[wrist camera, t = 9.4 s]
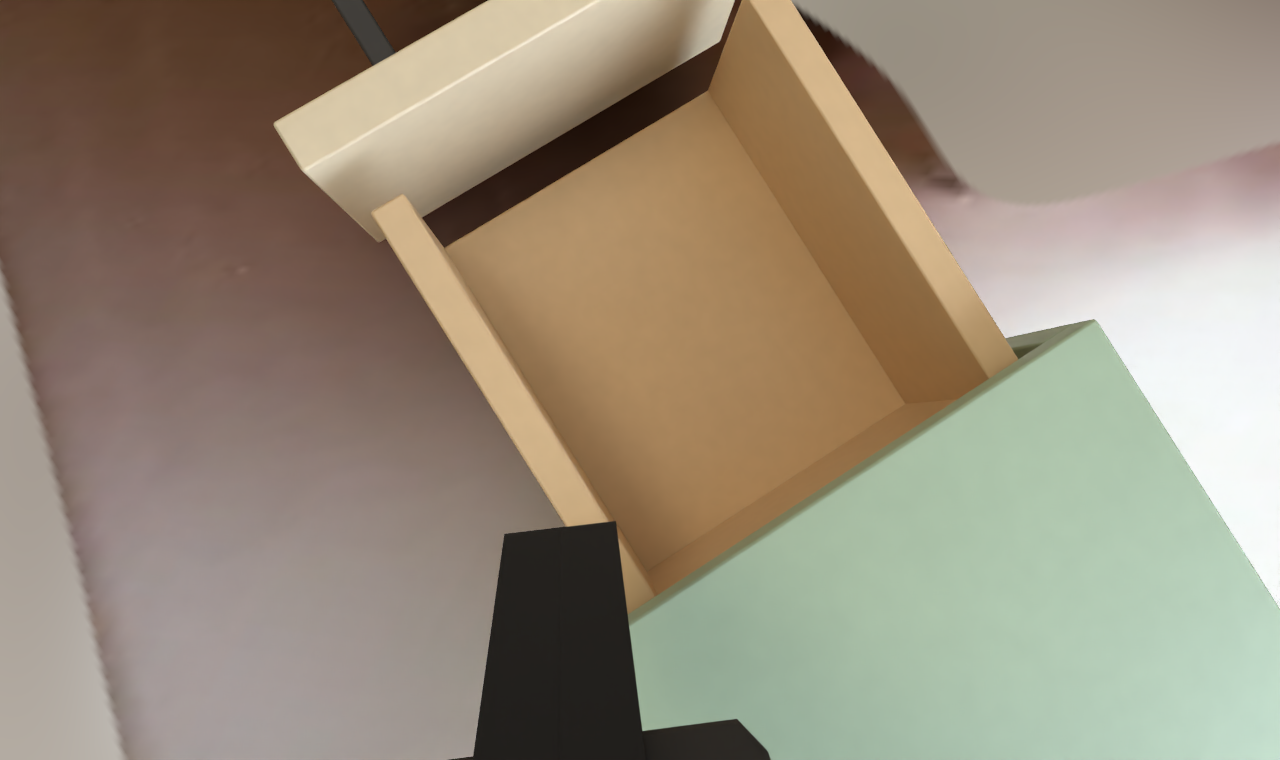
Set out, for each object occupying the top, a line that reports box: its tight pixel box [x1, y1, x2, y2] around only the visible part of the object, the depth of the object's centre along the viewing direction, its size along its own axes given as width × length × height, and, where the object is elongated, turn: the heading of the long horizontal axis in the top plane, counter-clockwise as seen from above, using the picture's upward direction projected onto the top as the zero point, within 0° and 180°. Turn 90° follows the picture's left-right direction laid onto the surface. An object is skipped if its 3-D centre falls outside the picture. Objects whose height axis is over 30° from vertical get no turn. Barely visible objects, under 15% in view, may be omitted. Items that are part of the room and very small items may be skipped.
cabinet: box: [628, 319, 1280, 760], centre depth 21 cm, size 15×13×9 cm
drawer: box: [274, 0, 1019, 614], centre depth 22 cm, size 19×11×7 cm, turn 32°
